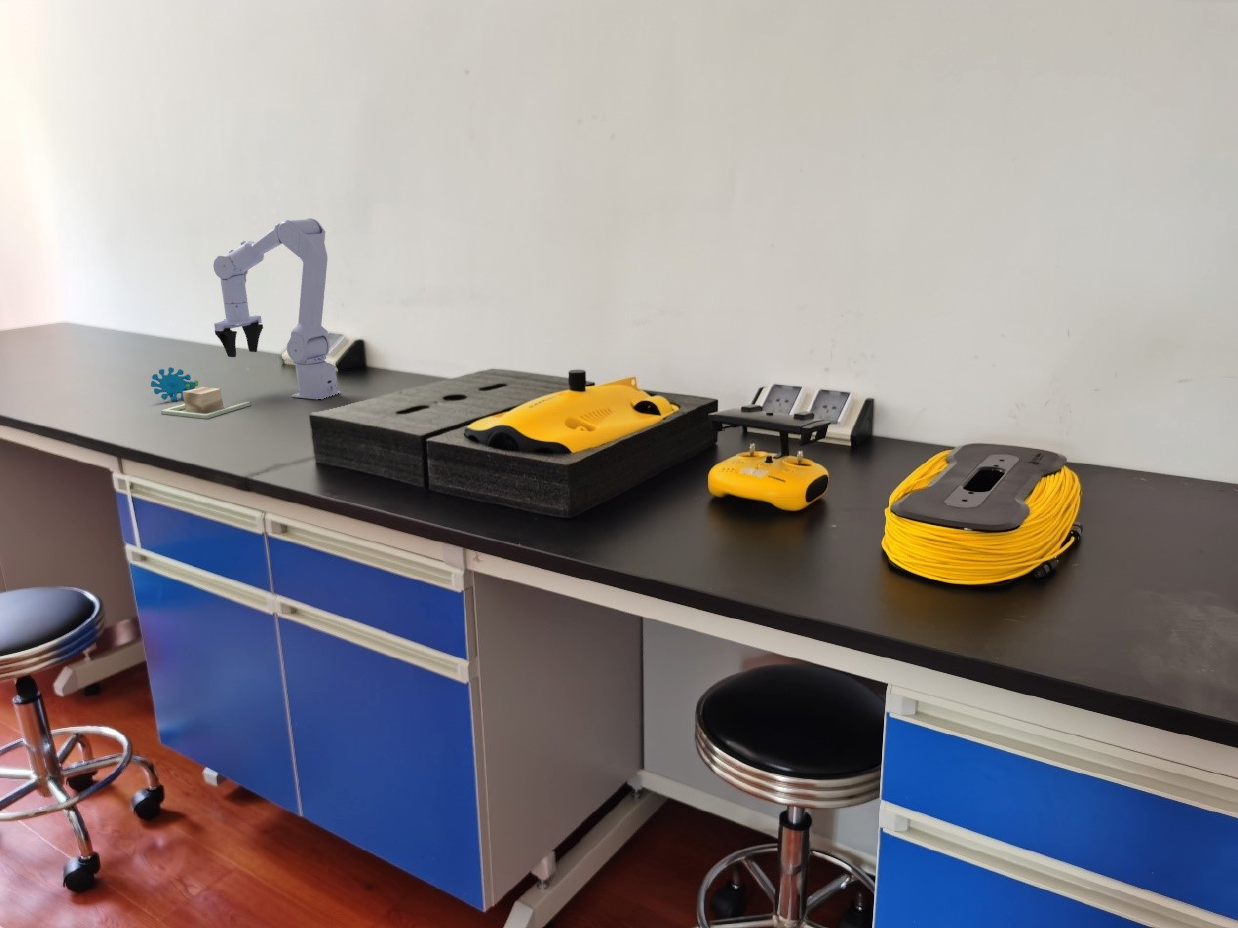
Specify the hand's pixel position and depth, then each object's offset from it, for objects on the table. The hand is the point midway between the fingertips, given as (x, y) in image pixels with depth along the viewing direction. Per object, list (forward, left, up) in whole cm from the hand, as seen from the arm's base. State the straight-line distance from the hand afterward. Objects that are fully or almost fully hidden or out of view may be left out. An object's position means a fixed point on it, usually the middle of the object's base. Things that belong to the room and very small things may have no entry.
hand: (242, 354), depth 240 cm
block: (-7, +22, -10) cm, 25 cm away
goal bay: (-7, +21, -9) cm, 24 cm away
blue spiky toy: (+10, +14, -10) cm, 20 cm away
